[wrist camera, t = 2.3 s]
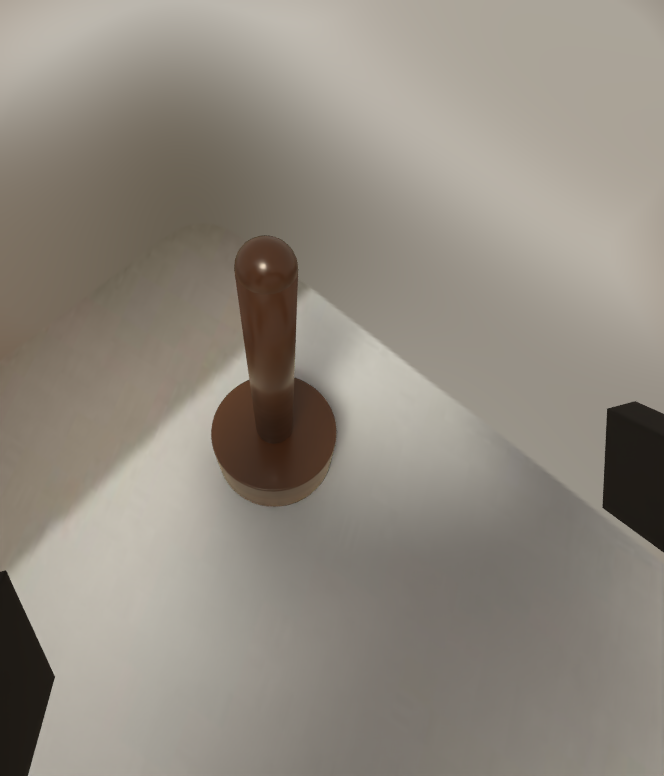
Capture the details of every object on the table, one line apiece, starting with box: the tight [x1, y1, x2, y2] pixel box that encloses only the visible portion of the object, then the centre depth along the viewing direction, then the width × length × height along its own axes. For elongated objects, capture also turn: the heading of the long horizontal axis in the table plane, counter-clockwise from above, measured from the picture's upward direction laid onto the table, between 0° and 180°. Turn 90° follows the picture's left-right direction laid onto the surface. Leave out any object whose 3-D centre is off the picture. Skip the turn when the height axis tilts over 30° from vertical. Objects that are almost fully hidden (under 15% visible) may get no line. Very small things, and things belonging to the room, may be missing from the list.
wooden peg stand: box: [211, 236, 337, 507], centre depth 20 cm, size 6×6×15 cm
